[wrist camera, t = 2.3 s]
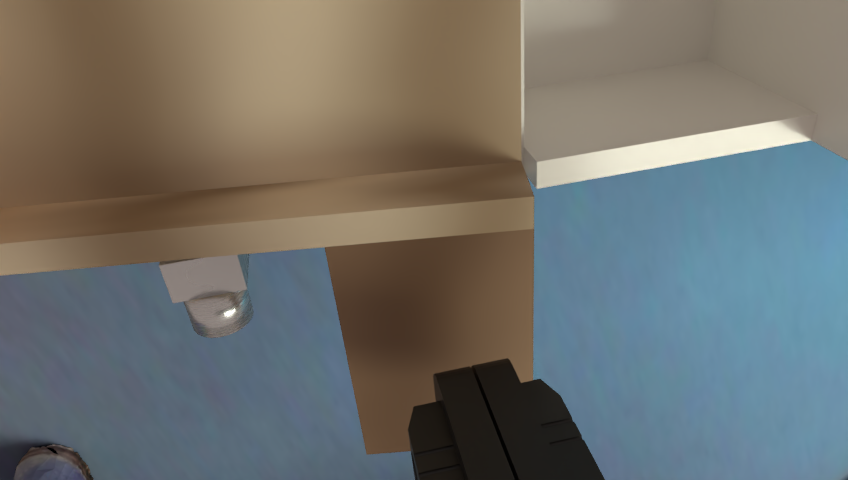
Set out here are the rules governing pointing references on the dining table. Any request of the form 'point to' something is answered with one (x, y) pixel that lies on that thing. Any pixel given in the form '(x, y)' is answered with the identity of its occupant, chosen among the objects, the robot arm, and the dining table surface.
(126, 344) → the dining table surface
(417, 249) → the chute
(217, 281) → the stand
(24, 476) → the flask
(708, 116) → the white open bin
